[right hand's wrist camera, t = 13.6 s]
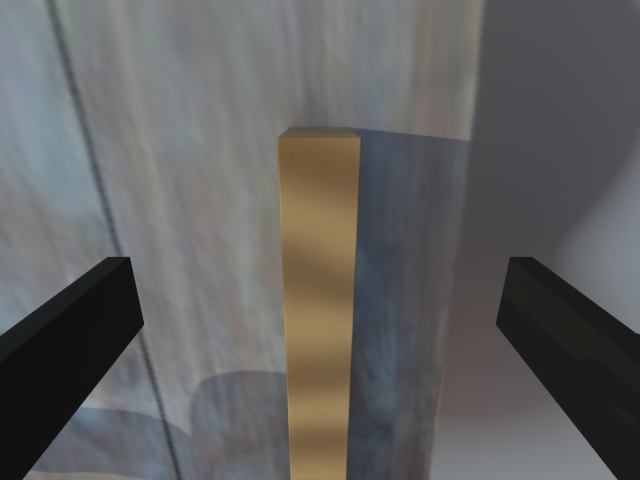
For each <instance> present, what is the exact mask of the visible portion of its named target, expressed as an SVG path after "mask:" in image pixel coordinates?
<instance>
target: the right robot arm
mask: <svg viewBox="0 0 640 480" xmlns="http://www.w3.org/2000/svg"><path fill="white" fill-rule="evenodd" d="M143 325H144V321H143V316H142V311H141V307H140V302H139V297H138V293H137V288H136V283H135V279H134V274H133V269H132V265H131V260H130V257H107V258H106V259H104V260H103V261H101V262H100V263H99V264H97V265H96V266H95V267H93V268H92V269H91V270H89V271H88V272H87V273H85V274H84V275H82V276H81V277H80V278H78V279H77V280H76V281H74V282H73V283H72V284H70V285H69V286H68V287H66V288H65V289H63V290H62V291H61V292H59V293H58V294H57V295H55V296H54V297H53V298H51V299H50V300H49V301H47V302H46V303H44V304H43V305H42V306H40V307H39V308H38V309H36V310H35V311H34V312H32V313H31V314H30V315H28V316H27V317H25V318H24V319H23V320H21V321H20V322H19V323H17V324H16V325H15V326H13V327H12V328H11V329H9V330H8V331H6V332H5V333H4V334H2V335H1V336H0V480H23V478H24V477H25V476H26V474H27V473H28V472H29V471H30V469H31V468H32V467H33V466H34V464H35V463H36V462H37V460H38V459H39V458H40V457H41V455H42V454H43V453H44V452H45V450H46V449H47V448H48V446H49V445H50V444H51V443H52V441H53V440H54V439H55V437H56V436H57V435H58V434H59V432H60V431H61V430H62V429H63V427H64V426H65V425H66V423H67V422H68V421H69V420H70V418H71V417H72V416H73V415H74V413H75V412H76V411H77V409H78V408H79V407H80V406H81V404H82V403H83V402H84V401H85V399H86V398H87V397H88V395H89V394H90V393H91V392H92V390H93V389H94V388H95V387H96V385H97V384H98V383H99V381H100V380H101V379H102V378H103V376H104V375H105V374H106V373H107V371H108V370H109V369H110V367H111V366H112V365H113V364H114V362H115V361H116V360H117V359H118V357H119V356H120V355H121V353H122V352H123V351H124V350H125V348H126V347H127V346H128V345H129V343H130V342H131V341H132V339H133V338H134V337H135V336H136V334H137V333H138V332H139V330H140V329H141V328H142V327H143ZM496 325H497V327H498V328H499V329H500V330H501V332H502V333H503V334H504V335H505V337H506V338H507V339H508V341H509V342H510V343H511V345H512V346H513V347H514V348H515V350H516V351H517V352H518V353H519V355H520V356H521V357H522V358H523V360H524V361H525V362H526V364H527V365H528V366H529V367H530V369H531V370H532V371H533V372H534V374H535V375H536V376H537V378H538V379H539V380H540V381H541V383H542V384H543V385H544V387H545V388H546V389H547V390H548V392H549V393H550V394H551V395H552V397H553V398H554V399H555V401H556V402H557V403H558V404H559V406H560V407H561V408H562V409H563V411H564V412H565V413H566V415H567V416H568V417H569V418H570V420H571V421H572V422H573V423H574V425H575V426H576V427H577V429H578V430H579V431H580V432H581V434H582V435H583V436H584V437H585V439H586V440H587V441H588V442H589V444H590V445H591V446H592V448H593V449H594V450H595V451H596V453H597V454H598V455H599V457H600V458H601V459H602V460H603V462H604V463H605V464H606V465H607V467H608V468H609V469H610V471H611V472H612V473H613V474H614V476H615V477H616V478H617V479H618V480H640V334H637V333H635V332H634V331H632V330H631V329H629V328H628V327H627V326H625V325H624V324H623V323H621V322H620V321H619V320H617V319H616V318H615V317H613V316H612V315H610V314H609V313H608V312H606V311H605V310H604V309H602V308H601V307H600V306H598V305H597V304H595V303H594V302H593V301H591V300H590V299H589V298H587V297H586V296H585V295H583V294H582V293H581V292H579V291H578V290H577V289H575V288H574V287H572V286H571V285H570V284H568V283H567V282H566V281H564V280H563V279H562V278H560V277H559V276H557V275H556V274H555V273H553V272H552V271H551V270H549V269H548V268H547V267H545V266H544V265H543V264H541V263H540V262H538V261H537V260H536V259H534V258H533V257H510V260H509V265H508V269H507V274H506V279H505V283H504V288H503V293H502V297H501V302H500V307H499V311H498V316H497V321H496Z"/></svg>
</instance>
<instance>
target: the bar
mask: <svg viewBox="0 0 640 480" xmlns="http://www.w3.org/2000/svg"><path fill="white" fill-rule="evenodd" d="M277 142H278V167H279V193H280V218H281V243H282V269H283V294H284V320H285V345H286V370H287V396H288V421H289V447H290V472H291V480H346V472H347V450H348V427H349V404H350V382H351V359H352V337H353V314H354V292H355V269H356V246H357V224H358V201H359V179H360V156H361V138H360V137H359V136H358V135H357V134H356V133H355V132H354V131H353V130H351V129H350V128H349V127H289V128H288V129H287V130H286V131H285V132H284V133H283V134H282V135H280V136H279V137H278V139H277Z"/></svg>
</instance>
